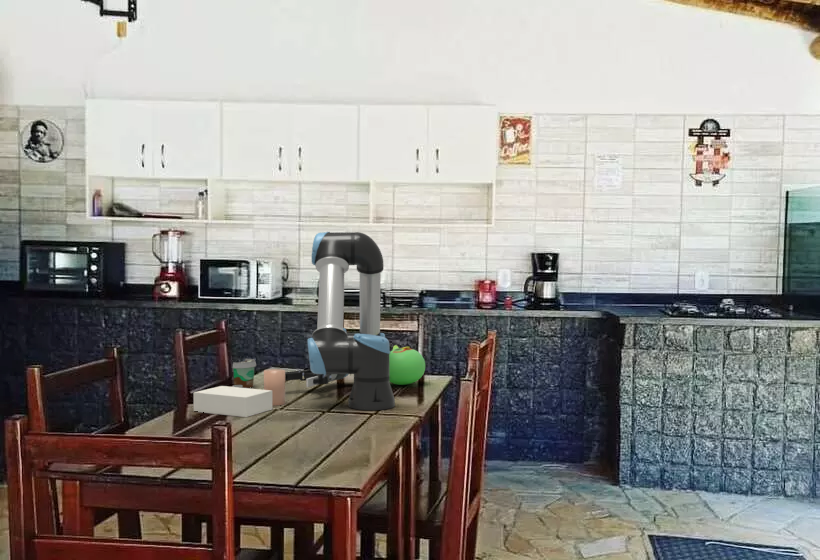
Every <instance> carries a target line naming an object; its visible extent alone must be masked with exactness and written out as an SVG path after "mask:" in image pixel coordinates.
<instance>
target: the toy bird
mask: <svg viewBox="0 0 820 560" xmlns="http://www.w3.org/2000/svg"><path fill="white" fill-rule="evenodd" d="M389 368H390V384H391V383H392V384H394V385H398V386H407V385H411V384H414V383H417V381H419V380H420V379H421V378H422V376H423V375H424V373H425V371H426V361H425V358H424V357H423V355H422V354H421V353H420V351H418V350H416V349H413V348H411V347H410V346H405V347H399V346H398V345H397V344H396V345H393V347H392V350H390V354H389Z"/></svg>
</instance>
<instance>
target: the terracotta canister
mask: <svg viewBox="0 0 820 560" xmlns="http://www.w3.org/2000/svg"><path fill="white" fill-rule="evenodd" d="M285 372H286V369H283V368H281V369H280V368H269V369H264V370H263V390H272V407H273V406H274V407H276V406H283V405H285V404H286V380H285Z"/></svg>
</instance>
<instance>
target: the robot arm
mask: <svg viewBox="0 0 820 560" xmlns="http://www.w3.org/2000/svg"><path fill="white" fill-rule="evenodd" d="M311 248H312V249H311V264H312V265H313V266H315V269H316V271H317V272H318V273H319V277H318V278H319V279H318V300H317V301H318V303H317V304H318V305H317V320H316V322H317V327H316V329H315V330H314V331H312V334H311V337H310V338H308V339H307V341H306V342H307V351H308V359H309V360H308V361H309V367H310V368H309V369H306V370H301V369H300V370H299V369H298V370H292V371H285V381H297V380H299V381H302V382H304V381H306V382H305V383H306V384H305V385H306V386H305V387H306V388H310V387H312V386H317V385H318V386H321V385H328V384H329V383H330V382H334V381H337V380H341V379H345V378H346V377H348V376H349V375H353V384H352V387H351V391H350V394H349V397H348V402H347V403H348V404H347V405H348V407H349V408H351V409H354V410H360V411H362V410H363V411H380V410H381V411H382V410H389V409H393V408H394V407H395V406H396V405H395V404H396V400H395V399H396V398H395V396H394V395H395V394H394V393H393V392H394V391H393V389H392V386H391V382H390V368H389V354H390V351H391V350H390V349H391V348H390V341H389V340H388V338H387V337H386V334H385V333H383V332H381V276H382V275H381V273H383V271H384V266H385V265H384V257H383V253H382V252H381V249H380V247H379V246H378V244H377V243H376V242H375V241H374V239H373V238H372V237H370V236H369V235H367V234H366V233H363V232H359V231H357V232H356V231H355V232H346V231H345V232H344V231H343V232H338V231H337V232H330V231H326V232H318V233H316V235H314V237H313V243H312V247H311ZM350 266H356V271H357V272H358V273H359V332H347V329H346V328H345V327H344V311H345V309H344V307H345V305H344V304H345V274H346V273H347V272H348V271H349V268H350Z"/></svg>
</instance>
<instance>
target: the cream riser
mask: <svg viewBox="0 0 820 560" xmlns="http://www.w3.org/2000/svg"><path fill="white" fill-rule="evenodd" d="M270 410H271V411H272V410H273V406H272V390H264V389H259V388H239V387H234V386H227V385H219V386H215V387H211V388H207V389H202V390H199V391H194V392H193V412H194V411H198V412H197V413H203V412H204V414H214V415H223V416H232V417H240V418H247V417H251V416H255V415H258V414H261V413H264V412H268V411H270Z"/></svg>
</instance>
